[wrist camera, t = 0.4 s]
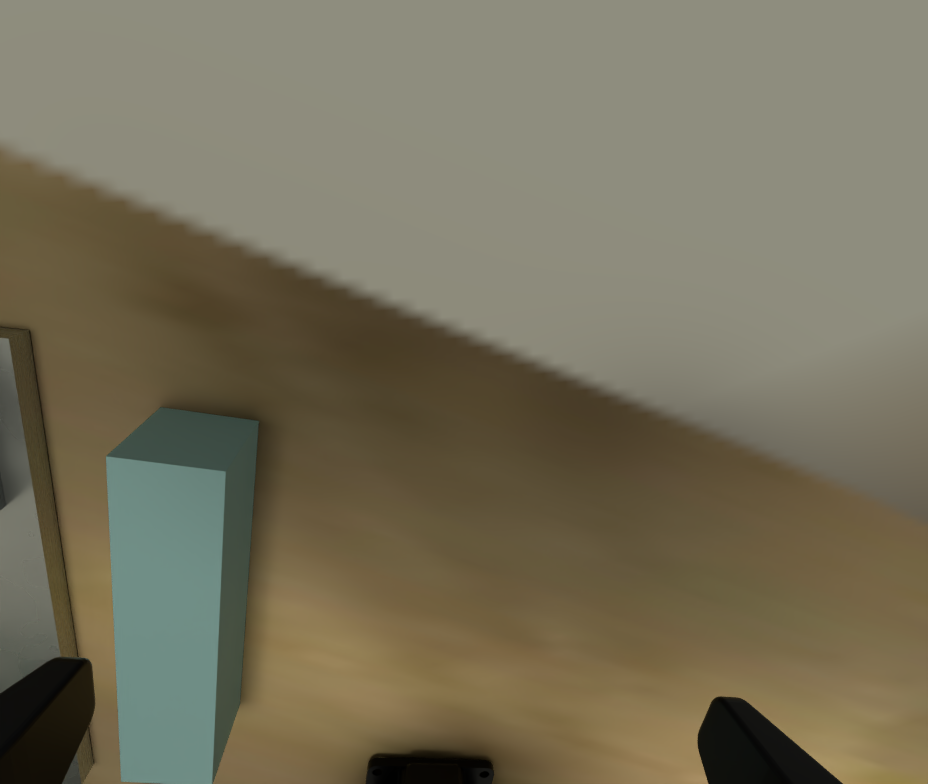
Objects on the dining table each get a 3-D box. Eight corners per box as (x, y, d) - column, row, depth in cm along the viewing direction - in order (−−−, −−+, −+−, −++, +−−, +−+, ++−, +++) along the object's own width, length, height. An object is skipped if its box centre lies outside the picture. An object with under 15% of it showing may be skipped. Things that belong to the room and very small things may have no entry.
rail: (241, 698, 26) (212, 786, 22) (164, 693, 25) (121, 781, 22) (260, 417, 21) (225, 471, 17) (163, 404, 20) (105, 456, 16)
